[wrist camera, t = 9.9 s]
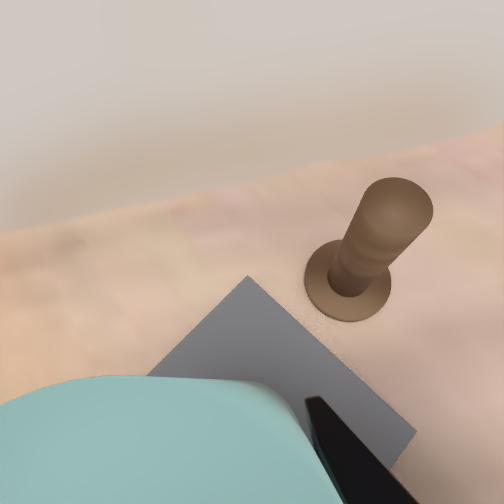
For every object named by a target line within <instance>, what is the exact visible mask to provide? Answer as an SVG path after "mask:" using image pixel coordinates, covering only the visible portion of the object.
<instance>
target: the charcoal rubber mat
mask: <svg viewBox="0 0 504 504" xmlns="http://www.w3.org/2000/svg"><path fill="white" fill-rule="evenodd" d="M147 376H150V377H173V378H196V379H219V380H242V381H254V382H258V383H262V384H264V385H266V386H269V387H270V388H272V389H274V390H275V391H276V392H278V393H279V394H280V395H281V396H282V397H283V398H284V399H285V400H286V401H287V403H288V404H289V405H290V407H291V408H292V410H293V412H294V414H295V416H296V417H297V419H298V421H299V423H300V425H301V427H302V429H303V430H304V432H305V434H306V436H307V438H308V440H309V441H310V443H311V445H312V447H313V444H312V440H311V436H310V432H309V428H308V423H307V417H306V411H305V405H304V399H305V398H306V397H311V396H316V395H319V396H321V397H322V398H323V399H324V400H325V401H326V402H327V404H328V405H329V406H330V407H331V408H332V409H333V410H334V411H335V412H336V413H337V414H338V416H339V417H340V418H341V419H342V420H343V421H344V422H345V423H346V424H347V425H348V426H349V427H350V429H351V430H352V431H353V432H354V433H355V434H356V435H357V436H358V437H359V438H360V439H361V441H362V442H363V443H364V444H365V445H366V446H367V447H368V448H369V449H370V450H371V451H372V452H373V454H374V455H375V456H376V457H377V458H378V459H379V460H380V461H381V462H382V463H383V464H384V466H385V467H386V468H387V469H388V470H389V469H390V468H391V467H392V465H393V464H394V462H395V461H396V460H397V458H398V457H399V455H400V454H401V453H402V451H403V450H404V449H405V447H406V446H407V444H408V443H409V442H410V440H411V439H412V438H413V436H414V435H415V433H416V432H417V431H416V430H415V429H414V428H413V427H412V426H411V425H410V424H408V423H407V422H406V421H405V420H404V419H403V418H402V417H401V416H400V415H399V414H398V413H397V412H395V411H394V410H393V409H392V408H391V407H390V406H389V405H388V404H387V403H386V402H385V401H383V400H382V399H381V398H380V397H379V396H378V395H377V394H376V393H375V392H374V391H373V390H372V389H370V388H369V387H368V386H367V385H366V384H365V383H364V382H363V381H362V380H361V379H360V378H359V377H357V376H356V375H355V374H354V373H353V372H352V371H351V370H350V369H349V368H348V367H347V366H345V365H344V364H343V363H342V362H341V361H340V360H339V359H338V358H337V357H336V356H335V355H334V354H332V353H331V352H330V351H329V350H328V349H327V348H326V347H325V346H324V345H323V344H322V343H321V342H319V341H318V340H317V339H316V338H315V337H314V336H313V335H312V334H311V333H310V332H309V331H307V330H306V329H305V328H304V327H303V326H302V325H301V324H300V323H299V322H298V321H297V320H296V319H294V318H293V317H292V316H291V315H290V314H289V313H288V312H287V311H286V310H285V309H284V308H283V307H281V306H280V305H279V304H278V303H277V302H276V301H275V300H274V299H273V298H272V297H271V296H269V295H268V294H267V293H266V292H265V291H264V290H263V289H262V288H261V287H260V286H259V285H258V284H256V283H255V282H254V281H253V280H252V279H251V278H250V277H249V276H248V275H247V276H246V277H245V278H244V279H243V280H242V281H241V282H240V283H239V284H238V285H237V286H236V287H235V288H234V289H233V290H232V291H231V292H230V293H229V294H228V295H227V296H226V297H225V298H224V299H223V300H222V301H221V302H220V303H219V304H218V305H217V306H216V307H215V308H214V309H213V310H212V311H211V312H210V313H209V314H208V315H207V316H206V317H205V318H204V319H203V320H202V321H201V322H200V323H199V324H198V325H197V326H196V327H195V328H194V329H193V330H192V331H191V332H190V333H189V334H188V335H187V336H186V337H185V338H184V339H183V340H182V341H181V342H180V343H179V344H178V345H177V346H176V347H175V348H174V349H173V350H172V351H171V352H170V353H169V354H168V355H167V356H166V357H165V358H164V359H163V360H162V361H161V362H160V363H159V364H158V365H157V366H156V367H155V368H154V369H153V370H152V371H151V372H150V373H149V374H148V375H147ZM313 449H314V448H313Z"/></svg>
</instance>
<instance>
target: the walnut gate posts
mask: <svg viewBox="0 0 504 504" xmlns="http://www.w3.org/2000/svg"><path fill="white" fill-rule="evenodd" d="M432 217H433V205H432V202H431V199H430V197H429V196H428V194H427V193H426V192H425V191H424V190H423V189H422V188H421V187H420V186H418V185H417V184H415V183H414V182H412V181H409V180H406V179H403V178H396V177H391V178H384V179H381V180H378V181H376V182H374V183H373V184H371V185H370V186H369V187H368V189H367V190H366V191H365V193H364V195H363V197H362V199H361V202H360V204H359V206H358V208H357V210H356V212H355V214H354V217H353V219H352V221H351V223H350V225H349V227H348V229H347V232H346V234H345V236H344V238H343V240H335V241H332V242H329V243H326V244H324V245H323V246H321V247H320V248H318V249H317V250H316V251H315V252H314V254H313V255H312V256H311V258H310V259H309V262H308V264H307V267H306V271H305V287H306V291H307V294H308V296H309V298H310V299H311V301H312V303H313V304H314V305H315V306H316V307H317V308H318V309H319V310H320V311H321V312H322V313H324V314H325V315H327V316H329V317H331V318H333V319H336V320H339V321H345V322H354V321H360V320H363V319H366V318H368V317H370V316H372V315H373V314H375V313H376V312H377V311H379V310H380V309H381V308H382V307H383V306H384V304H385V303H386V301H387V299H388V297H389V294H390V291H391V276H390V272H389V269H388V266H389V265H390V264H391V263H392V262H393V261H394V260H395V259H396V258H397V257H398V256H399V255H400V254H401V253H402V252H403V251H404V250H405V249H406V248H407V247H408V246H409V245H410V244H411V243H412V242H413V241H414V240H415V239H416V238H417V237H418V236H419V235H420V234H421V233H422V232H423V231H424V229H425V228H426V227H427V226H428V225H429V224H430V222H431V220H432Z"/></svg>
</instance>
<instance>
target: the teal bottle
mask: <svg viewBox="0 0 504 504" xmlns="http://www.w3.org/2000/svg"><path fill="white" fill-rule="evenodd" d="M0 504H343V502H342V500H341V498H340V497H339V495H338V493H337V491H336V489H335V487H334V486H333V484H332V482H331V480H330V478H329V476H328V475H327V473H326V471H325V469H324V467H323V465H322V463H321V462H320V460H319V458H318V456H317V454H316V452H315V451H314V449H313V447H312V445H311V443H310V441H309V440H308V438H307V436H306V434H305V432H304V430H303V429H302V427H301V425H300V423H299V421H298V419H297V417H296V416H295V414H294V412H293V410H292V408H291V407H290V405H289V404H288V403H287V401H286V400H285V399H284V398H283V397H282V396H281V395H280V394H279V393H278V392H276V391H275V390H274V389H272V388H270V387H269V386H266V385H264V384H262V383H258V382H254V381H242V380H219V379H196V378H173V377H150V376H99V377H91V378H83V379H76V380H70V381H67V382H63V383H59V384H56V385H52V386H48V387H44V388H41V389H38V390H35V391H33V392H30V393H28V394H25V395H23V396H21V397H18V398H16V399H13V400H11V401H8V402H6V403H4V404H2V405H0Z"/></svg>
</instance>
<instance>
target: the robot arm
mask: <svg viewBox="0 0 504 504" xmlns="http://www.w3.org/2000/svg"><path fill="white" fill-rule="evenodd" d="M304 405H305V411H306V417H307V423H308V428H309V432H310V436H311V440H312V444H313V448H314V451H315V452H316V454H317V456H318V458H319V460H320V462H321V463H322V465H323V467H324V469H325V471H326V473H327V475H328V476H329V478H330V480H331V482H332V484H333V486H334V487H335V489H336V491H337V493H338V495H339V497H340V498H341V500H342V502H343V504H419V503H418V501H417V500H416V499H415V498H414V497H413V496H412V495H411V494H410V493H409V492H408V491H407V489H406V488H405V487H404V486H403V485H402V484H401V483H400V482H399V481H398V480H397V479H396V478H395V476H394V475H393V474H392V473H391V472H390V471H389V470H388V469H387V468H386V467H385V466H384V464H383V463H382V462H381V461H380V460H379V459H378V458H377V457H376V456H375V455H374V454H373V452H372V451H371V450H370V449H369V448H368V447H367V446H366V445H365V444H364V443H363V442H362V441H361V439H360V438H359V437H358V436H357V435H356V434H355V433H354V432H353V431H352V430H351V429H350V427H349V426H348V425H347V424H346V423H345V422H344V421H343V420H342V419H341V418H340V417H339V416H338V414H337V413H336V412H335V411H334V410H333V409H332V408H331V407H330V406H329V405H328V404H327V402H326V401H325V400H324V399H323V398H322V397H321V396H319V395H316V396H311V397H306V398H305V399H304Z"/></svg>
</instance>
